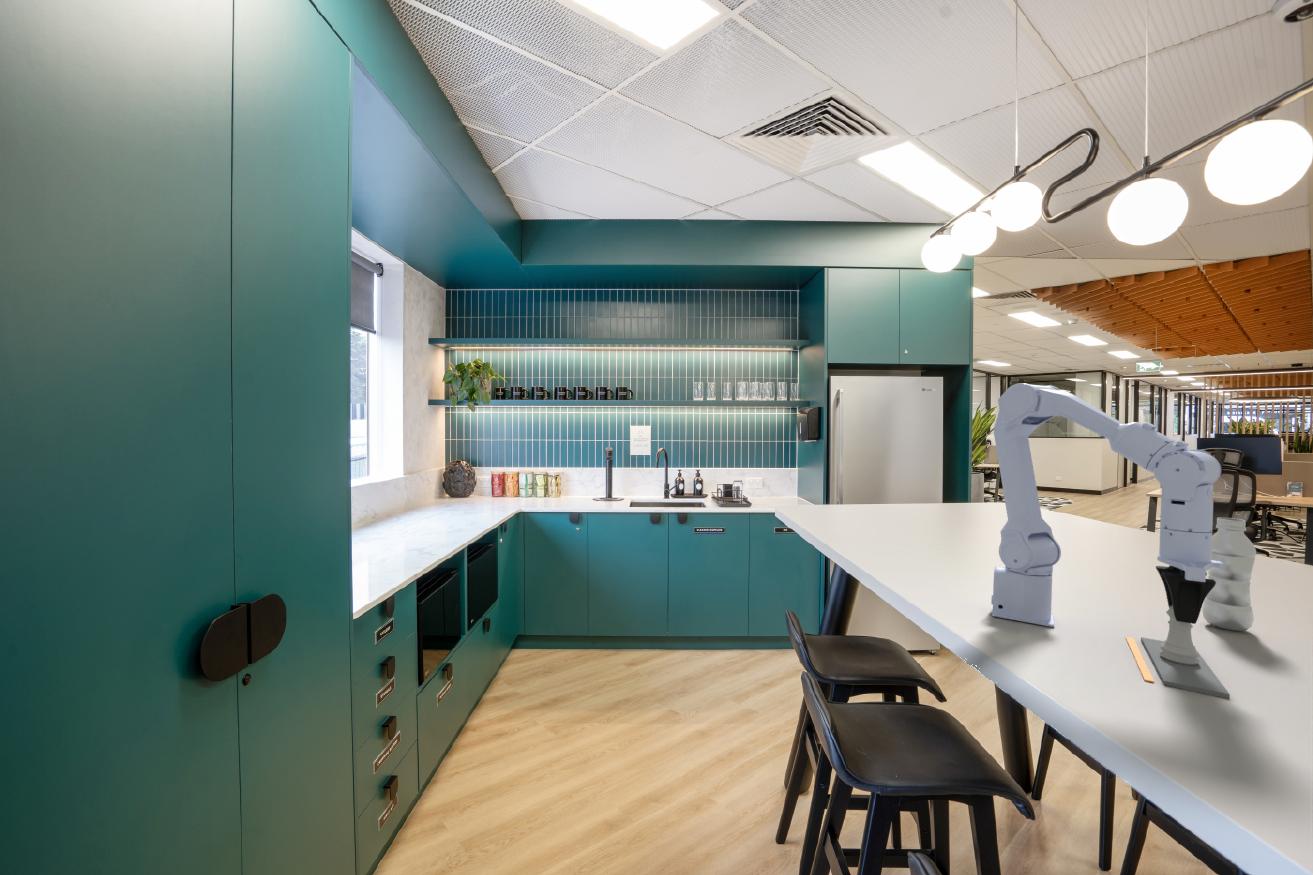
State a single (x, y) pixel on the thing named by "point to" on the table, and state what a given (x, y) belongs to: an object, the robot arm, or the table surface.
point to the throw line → (1139, 660)
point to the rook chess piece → (1179, 642)
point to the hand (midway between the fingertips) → (1182, 618)
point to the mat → (1184, 672)
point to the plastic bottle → (1230, 577)
